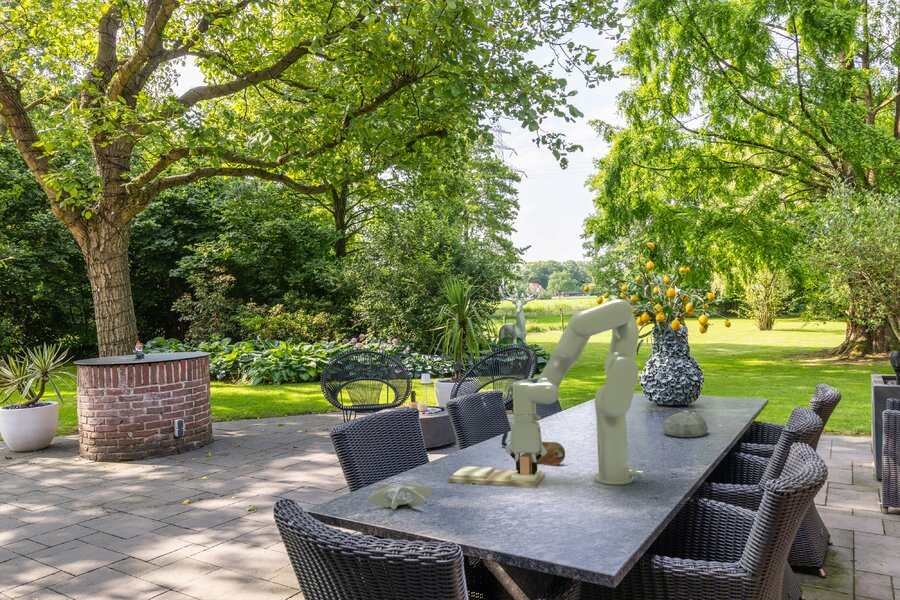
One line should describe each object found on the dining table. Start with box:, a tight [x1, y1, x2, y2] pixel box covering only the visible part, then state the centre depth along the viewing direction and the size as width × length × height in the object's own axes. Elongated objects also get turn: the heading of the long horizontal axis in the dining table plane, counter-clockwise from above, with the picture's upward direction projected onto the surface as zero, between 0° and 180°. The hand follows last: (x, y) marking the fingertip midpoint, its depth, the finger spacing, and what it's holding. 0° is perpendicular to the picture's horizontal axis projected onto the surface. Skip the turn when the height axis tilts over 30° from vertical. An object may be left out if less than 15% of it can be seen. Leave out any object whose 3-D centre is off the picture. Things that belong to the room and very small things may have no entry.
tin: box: [526, 441, 566, 466], centre depth 232 cm, size 15×3×8 cm, turn 62°
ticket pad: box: [448, 465, 546, 489], centre depth 212 cm, size 30×14×3 cm, turn 71°
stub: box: [511, 453, 542, 481], centre depth 209 cm, size 8×12×7 cm, turn 161°
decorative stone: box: [662, 410, 709, 438], centre depth 276 cm, size 18×21×10 cm
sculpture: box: [367, 481, 433, 510], centre depth 187 cm, size 18×20×6 cm
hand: (526, 472), depth 209 cm, fingers open, 4 cm apart
